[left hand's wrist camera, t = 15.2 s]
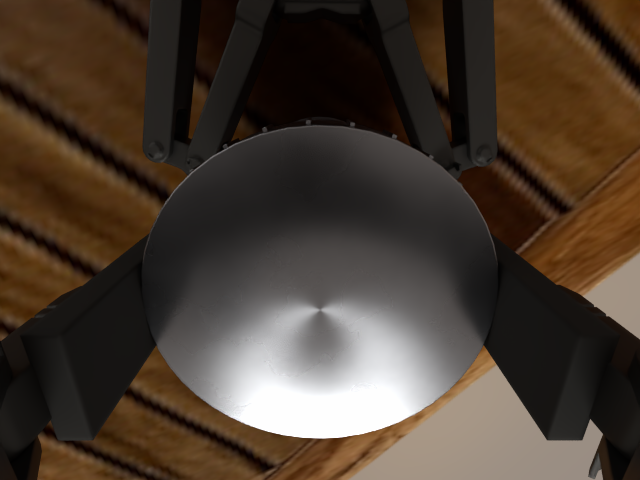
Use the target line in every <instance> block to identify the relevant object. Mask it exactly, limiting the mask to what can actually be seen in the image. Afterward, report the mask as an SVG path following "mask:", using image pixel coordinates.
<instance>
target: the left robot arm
mask: <svg viewBox="0 0 640 480" xmlns="http://www.w3.org/2000/svg"><path fill="white" fill-rule="evenodd" d="M149 234H150V233H149ZM149 234H148V235H147V236H145V237H144V238H143V239H142V240H140V241H139V242H138V243H136V244H135V245H134V246H133V247H131V248H130V249H129V250H128V251H126V252H125V253H124V254H122V255H121V256H120V257H119V258H117V259H116V260H115V261H114V262H112V263H111V264H110V265H109V266H107V267H106V268H105V269H103V270H102V271H101V272H100V273H98V274H97V275H96V276H95V277H93V278H92V279H91V280H89V281H88V282H87V283H86V284H84V285H83V286H80V287H78V288H76V289H74V290H72V291H69V292H67V293H65V294H63V295H61V296H60V297H59V298H57V299H56V300H55V301H53V302H52V303H51V304H49V305H48V306H47V308H44V309H43V310H41V311H40V312H39V313H37V314H36V315H35V318H31V319H30V320H28V321H27V322H26V323H24V324H23V325H22V326H20V327H19V328H18V329H16V330H15V331H14V332H12V333H11V334H10V335H8V336H7V337H6V338H4V339H3V340H2V341H0V480H37V477H38V471H39V465H40V459H41V453H42V450H41V444H40V441H39V438H38V434H39V433H40V432H41V431H42V430H43V428H44V427H45V426H46V425H47V424H48V422H49V421H50V420H51V422H52V425H53V428H54V431H55V433H56V436H57V439H58V440H93V439H94V438H95V436H96V435H97V433H98V432H99V430H100V429H101V427H102V426H103V424H104V423H105V421H106V420H107V418H108V417H109V415H110V414H111V412H112V411H113V409H114V408H115V406H116V405H117V403H118V402H119V400H120V399H121V397H122V396H123V394H124V393H125V391H126V390H127V388H128V387H129V385H130V384H131V382H132V381H133V379H134V378H135V376H136V375H137V373H138V372H139V370H140V369H141V367H142V366H143V364H144V363H145V361H146V360H147V358H148V357H149V355H150V354H151V352H152V351H153V349H154V348H155V346H156V343H155V341H154V339H153V337H152V335H151V332H150V329H149V326H148V323H147V319H146V315H145V310H144V305H143V300H142V294H141V270H142V263H143V256H144V250H145V247H146V244H147V240H148V237H149ZM490 235H491V238H492V240H493V243H494V248H495V253H496V258H497V263H498V277H499V290H498V299H497V305H496V310H495V314H494V319H493V323H492V326H491V329H490V331H489V333H488V336H487V338H486V341H485V343H484V346H485V347H486V349H487V350H488V352H489V353H490V355H491V356H492V358H493V360H494V361H495V363H496V364H497V366H498V367H499V369H500V370H501V372H502V373H503V375H504V376H505V377H506V379H507V381H508V382H509V384H510V385H511V387H512V388H513V390H514V391H515V393H516V394H517V396H518V397H519V399H520V400H521V402H522V403H523V405H524V406H525V408H526V409H527V411H528V412H529V414H530V415H531V417H532V418H533V420H534V421H535V423H536V424H537V426H538V427H539V429H540V430H541V432H542V433H543V435H544V436H545V438H546V439H547V440H582V439H583V437H584V434H585V431H586V428H587V426H588V423H589V420H590V419H591V420H592V421H593V423H594V424H595V425H596V426H597V427H598V428H599V430H600V431H601V432H602V433H603V436H602V438H601V441H600V444H599V446H598V449H597V451H596V454H595V456H594V459H593V461H592V464H591V467H590V470H589V476H588V477H590V478H593V479H595V477H596V475H597V472H598V471H599V470H601V469H602V475H603V480H640V339H638V338H637V337H636V336H634V335H633V334H632V333H630V332H629V331H628V330H626V329H625V328H624V327H622V326H621V325H620V324H618V323H617V322H616V321H614V320H613V319H612V318H610V317H609V316H606V314H605V313H604V312H603V311H601V310H600V309H598V308H597V307H594V305H593V304H592V303H591V302H589V301H588V300H587V299H585V298H584V297H583V296H581V295H580V294H578V293H576V292H574V291H572V290H570V289H568V288H565V287H563V286H561V285H556V284H555V283H553V282H552V281H551V280H549V279H548V278H547V277H546V276H544V275H543V274H542V273H541V272H539V271H538V270H537V269H536V268H534V267H533V266H532V265H530V264H529V263H528V262H527V261H525V260H524V259H523V258H522V257H520V256H519V255H518V254H516V253H515V252H514V251H513V250H511V249H510V248H509V247H508V246H506V245H505V244H504V243H502V242H501V241H500V240H499V239H497V238H496V237H495V236H494V235H492V234H491V233H490Z"/></svg>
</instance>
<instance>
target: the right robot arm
mask: <svg viewBox="0 0 640 480" xmlns="http://www.w3.org/2000/svg"><path fill="white" fill-rule="evenodd" d="M200 13H201V0H151V1H150V20H149V38H148V57H147V75H146V93H145V112H144V130H143V152H144V154H145V155H146V157H147V158H148V159H149V160H151V161H153V162H158V163H160V162H164V163H167V164H170V165H173V166H176V167H178V168H180V169H182V170H183V171H184V172H185V173H186V174H187V175H189V174H190V173H191V172H190V170H192V169H193V168H195V167H196V166H198V165H200V164H202V163H204V162H205V161H206V160H208V159H209V158H210V157H212V156H213V155H215V154H217V153H219V152H220V151H222V150H224V148H223V145H225V144H227V143H229V142H231V140H232V137H233V135H234V132H235V130H236V127H237V125H238V122H239V120H240V118H241V115H242V113H243V110H244V108H245V105H246V103H247V100H248V98H249V95H250V93H251V90H252V88H253V86H254V83H255V81H256V78H257V76H258V73H259V71H260V68H261V66H262V63H263V61H264V58H265V56H266V53H267V51H268V49H269V46H270V44H271V43H272V41H273V40H274V38H275V36H276V34H277V31H278V29H279V26H280V24H281V21H282V19H283V18H284V19H287V21H288V23H307V22H310V21H314V20H317V19H320V18H324V19H327V20H330V21H333V22H336V23H339V24H356V22H357V21H358V20H361V19H362V22H363V25H364V27H365V30H366V33H367V35H368V38H369V40H370V42H371V43H372V45H373V46H374V49H375V51H376V54H377V57H378V59H379V62H380V65H381V67H382V70H383V73H384V75H385V78H386V81H387V83H388V86H389V89H390V91H391V94H392V97H393V99H394V102H395V105H396V107H397V110H398V113H399V115H400V118H401V121H402V123H403V126H404V129H405V131H406V134H407V137H408V139H409V142H410V145H411V147H413V148H418V149H420V150H422V151H424V152H426V153H428V154H430V155H432V156H433V157H434V158H433V159H432V160H433V161H435V162H436V163H438V164H439V165H441V166H442V167H443V168H444V169H445V170H446V171H447V172H448V173H449V174H450V175H451V176H453V177H454V178H455V179H456V180H457V179H458V178H459V176H460V175H461V172H462V171H463V170H466V169H469V168H472V167H475V166H487V165H489V164H491V163H492V162H493V161H494V160H495V158H496V156H497V118H496V82H495V47H494V11H493V0H443V20H444V34H445V48H446V61H447V75H448V89H449V103H450V117H451V131H452V142H449V140H448V137H447V134H446V131H445V128H444V125H443V123H442V120H441V117H440V114H439V111H438V108H437V105H436V102H435V99H434V96H433V93H432V90H431V87H430V84H429V81H428V78H427V75H426V72H425V69H424V66H423V63H422V60H421V57H420V54H419V51H418V48H417V45H416V42H415V39H414V36H413V33H412V30H411V27H410V23H409V12H408V7H407V4H406V1H405V0H239V2H238V5H237V9H236V17H235V23H234V26H233V29H232V31H231V34H230V37H229V40H228V42H227V45H226V48H225V50H224V53H223V56H222V59H221V61H220V64H219V67H218V70H217V72H216V75H215V78H214V80H213V83H212V86H211V89H210V91H209V94H208V97H207V100H206V102H205V105H204V108H203V110H202V113H201V116H200V119H199V121H198V124H197V127H196V130H195V132H194V135H193V138H192V139H190V138H188V135H189V124H190V114H191V104H192V94H193V84H194V74H195V63H196V53H197V43H198V33H199V23H200Z"/></svg>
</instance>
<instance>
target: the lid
mask: <svg viewBox="0 0 640 480" xmlns="http://www.w3.org/2000/svg"><path fill="white" fill-rule="evenodd" d="M262 130H263V131H260V132H258V133H255V134H252V135H250V136H248V137H246V138H244V139H242V140H239V138H238V139H235V140H233V141H231V142H229V143H227V144H225V145H223V148H224V150H222V151H220V152H219V153H217V154H215V155H213V156H212V157H210V158H209V159H208V160H206V161H205V162H204V163H202V164H200V165H198V166H196V167H195V168H193V169H192V170H190V172H191V173H190V174H189V175H188V176H187V177H186V178H185V179H184V180H183V181H182V183H181V184H180V185H179V186H178V187H177V188H176V189H175V190H174V191H173V193H172V194H171V196H170V197H169V198H168V199H167V200H166V203H165V204H164V205H163V207H162V208H161V210H160V212H159V214H158V216H157V218H156V220H155V222H154V224H153V226H152V228H151V231H150V234H149V237H148V240H147V244H146V247H145V250H144V256H143V263H142V270H141V294H142V300H143V305H144V310H145V315H146V319H147V323H148V326H149V329H150V332H151V335H152V337H153V339H154V341H155V343H156V345H157V347H158V350H159V351H160V353H161V354H162V356H163V357H164V359H165V361H166V362H167V364H168V365H169V367H170V368H171V369H172V370H173V372H174V373H175V374H176V375H177V376H178V377H179V379H180V380H181V381H182V382H183V383H184V384H185V385H186V386H187V387H188V388H189V389H190V390H191V391H192V392H194V393H195V394H196V395H197V396H198V397H200V398H201V399H202V400H204V401H205V402H206V403H208V404H209V405H210V406H212V407H213V408H215V409H217V410H218V411H220V412H222V413H224V414H225V415H227V416H229V417H231V418H233V419H235V420H238V421H240V422H242V423H244V424H246V425H249V426H252V427H255V428H258V429H261V430H264V431H268V432H273V433H277V434H281V435H287V436H295V437H302V438H335V437H346V436H352V435H358V434H363V433H367V432H371V431H375V430H379V429H382V428H385V427H387V426H390V425H393V424H395V423H398V422H400V421H402V420H404V419H406V418H408V417H410V416H412V415H414V414H416V413H418V412H420V411H421V410H423V409H424V408H426V407H428V406H429V405H431V404H432V403H434V402H435V401H436V400H437V399H439V398H440V397H441V396H442V395H444V394H445V393H446V392H447V391H449V390H450V389H451V388H452V387H453V386H454V385H455V383H456V382H457V381H458V380H459V379H460V378H461V377H462V376H463V375H464V374H465V372H466V371H467V370H468V369H469V367H470V366H471V365H472V363H473V362H474V361H475V359H476V357H477V355H478V354H479V352H480V350H481V349H482V347H483V345H484V343H485V341H486V338H487V336H488V333H489V331H490V329H491V326H492V323H493V319H494V314H495V310H496V305H497V299H498V290H499V277H498V263H497V258H496V253H495V248H494V243H493V240H492V238H491V235H490V232H489V229H488V227H487V224H486V222H485V220H484V218H483V216H482V215H481V213H480V211H479V209H478V207H477V206H476V204H475V202H474V201H473V200H472V198H471V197H470V196H469V194H468V193H467V192H466V191H465V189H464V188H463V187H462V184H461V182H459V181H457V180H456V179H455V178H454V177H453V176H451V175H450V174H449V173H448V172H447V171H446V170H445V169H444V168H443V167H442V166H441V165H439V164H438V163H436V162H435V161H433V160H432V159H433V158H434V157H433V156H432V155H430V154H428V153H426V152H424V151H422V150H420V149H418V148H413V147H411V146H409V145H407V144H405V143H403V142H401V141H399V140H397V139H396V138H397V135H395V134H393V133H390V132H388V131H386V130H383V132H380V131H377V130H374V129H371V128H368V127H365V126H362V125H358V124H355V123H354V122H353V121H351V120H349V119H346V122H342V121H328V120H312V117H308V118H307V120H306V121H299V122H291V123H287V124H283V125H279V126H274V124H270V125H268V126H266V127H264V128H262Z"/></svg>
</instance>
